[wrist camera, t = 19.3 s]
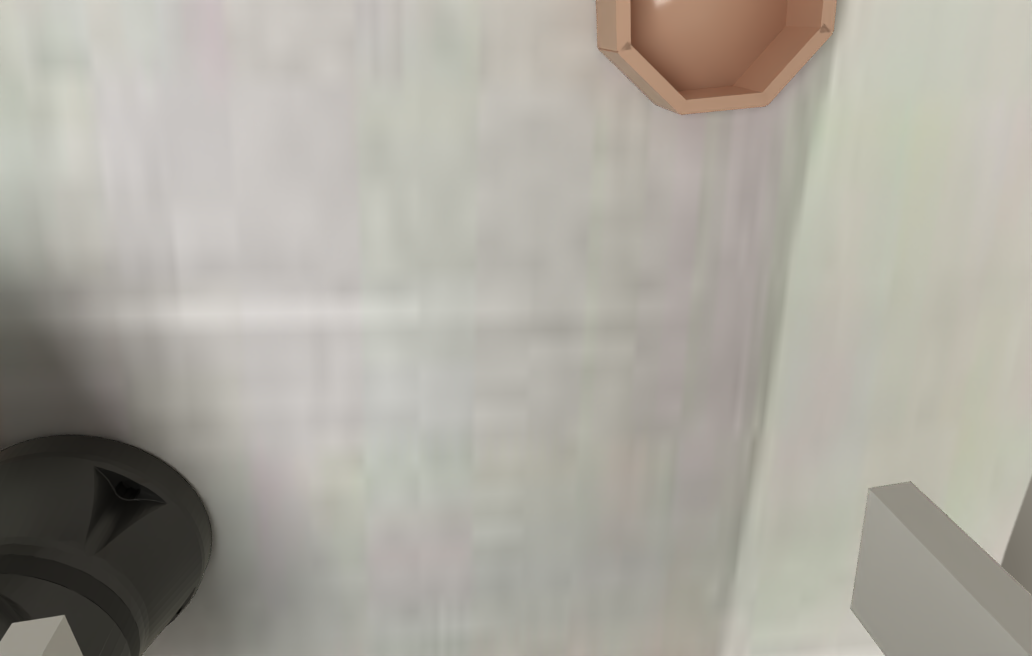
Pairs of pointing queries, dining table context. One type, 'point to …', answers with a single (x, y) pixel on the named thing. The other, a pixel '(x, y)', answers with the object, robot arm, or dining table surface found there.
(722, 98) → the bin
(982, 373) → the dining table surface
